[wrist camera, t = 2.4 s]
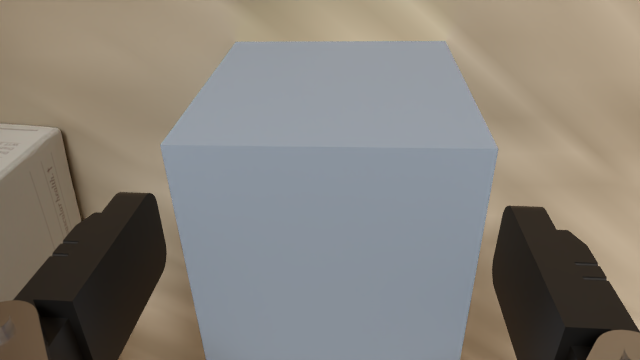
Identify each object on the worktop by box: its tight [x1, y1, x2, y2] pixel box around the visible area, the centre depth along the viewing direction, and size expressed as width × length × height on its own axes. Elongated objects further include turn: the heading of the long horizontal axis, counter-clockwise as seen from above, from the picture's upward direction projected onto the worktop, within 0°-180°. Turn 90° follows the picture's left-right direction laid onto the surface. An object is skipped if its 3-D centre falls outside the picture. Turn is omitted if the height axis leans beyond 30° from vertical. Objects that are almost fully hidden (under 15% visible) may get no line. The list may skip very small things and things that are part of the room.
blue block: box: [160, 41, 498, 360], centre depth 12 cm, size 6×6×6 cm
